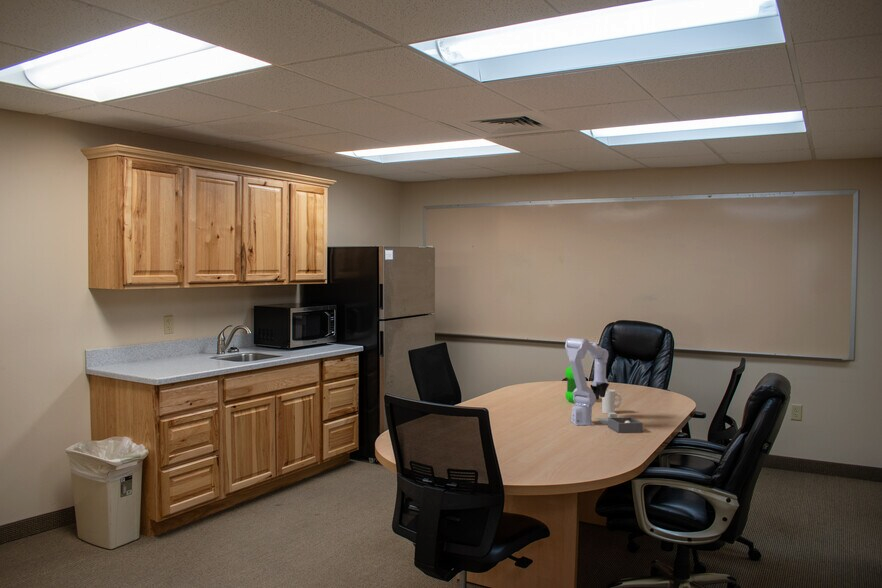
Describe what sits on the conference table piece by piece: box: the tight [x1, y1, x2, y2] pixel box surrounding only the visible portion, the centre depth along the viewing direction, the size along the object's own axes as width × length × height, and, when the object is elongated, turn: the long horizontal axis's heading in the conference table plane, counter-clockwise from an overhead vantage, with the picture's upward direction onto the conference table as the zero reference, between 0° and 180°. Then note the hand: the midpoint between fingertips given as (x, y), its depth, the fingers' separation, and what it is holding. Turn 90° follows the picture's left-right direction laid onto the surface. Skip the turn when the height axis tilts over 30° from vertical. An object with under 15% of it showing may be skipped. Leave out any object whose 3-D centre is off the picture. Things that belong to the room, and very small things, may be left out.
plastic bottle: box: [564, 365, 577, 404], centre depth 374 cm, size 10×10×25 cm
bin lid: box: [595, 412, 618, 426], centre depth 327 cm, size 13×13×5 cm
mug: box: [601, 388, 622, 415], centre depth 347 cm, size 10×7×12 cm, turn 78°
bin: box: [607, 416, 644, 434], centre depth 310 cm, size 12×12×4 cm
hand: (599, 398), depth 333 cm, fingers open, 7 cm apart
